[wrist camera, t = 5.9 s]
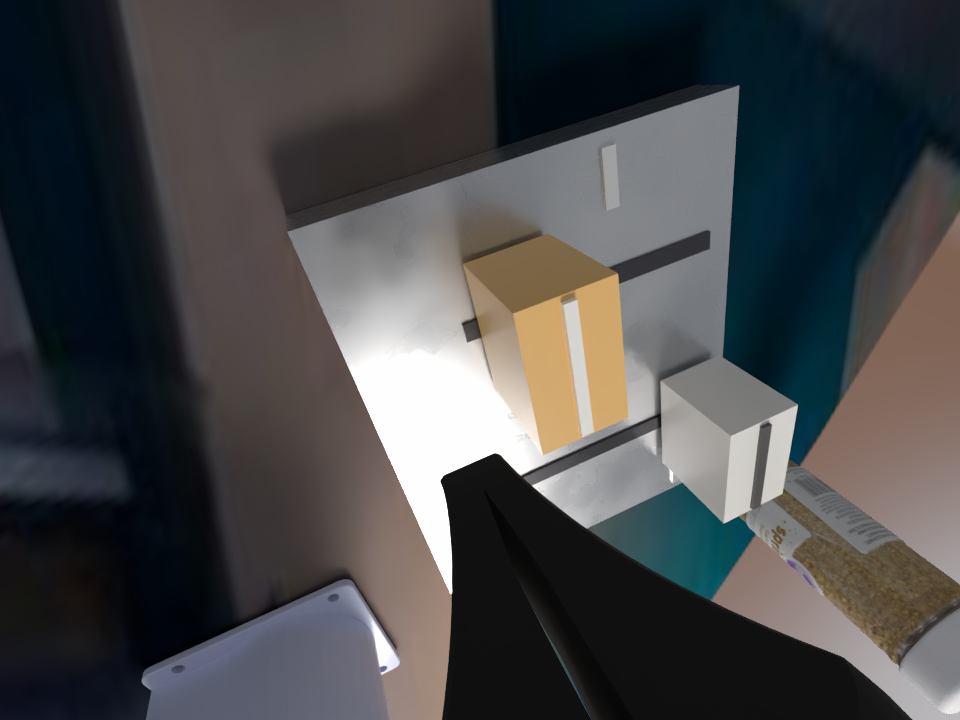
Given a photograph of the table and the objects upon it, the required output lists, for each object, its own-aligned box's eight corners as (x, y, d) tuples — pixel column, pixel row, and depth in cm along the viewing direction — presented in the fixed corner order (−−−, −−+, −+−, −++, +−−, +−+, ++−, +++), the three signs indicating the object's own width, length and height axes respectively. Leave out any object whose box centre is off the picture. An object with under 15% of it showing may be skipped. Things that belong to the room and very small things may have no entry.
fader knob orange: (494, 387, 18) (544, 458, 15) (463, 263, 16) (515, 315, 12) (567, 358, 19) (631, 420, 16) (548, 233, 16) (621, 275, 13)
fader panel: (439, 559, 25) (451, 595, 23) (285, 215, 15) (287, 232, 14) (689, 443, 28) (717, 468, 26) (696, 84, 18) (742, 85, 16)
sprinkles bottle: (685, 478, 29) (934, 720, 18) (738, 417, 28) (1034, 636, 17) (724, 496, 32) (964, 720, 21) (774, 441, 31) (1054, 646, 20)
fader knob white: (662, 462, 24) (726, 526, 21) (660, 380, 21) (734, 438, 18) (714, 438, 25) (785, 496, 21) (719, 355, 22) (801, 407, 18)
